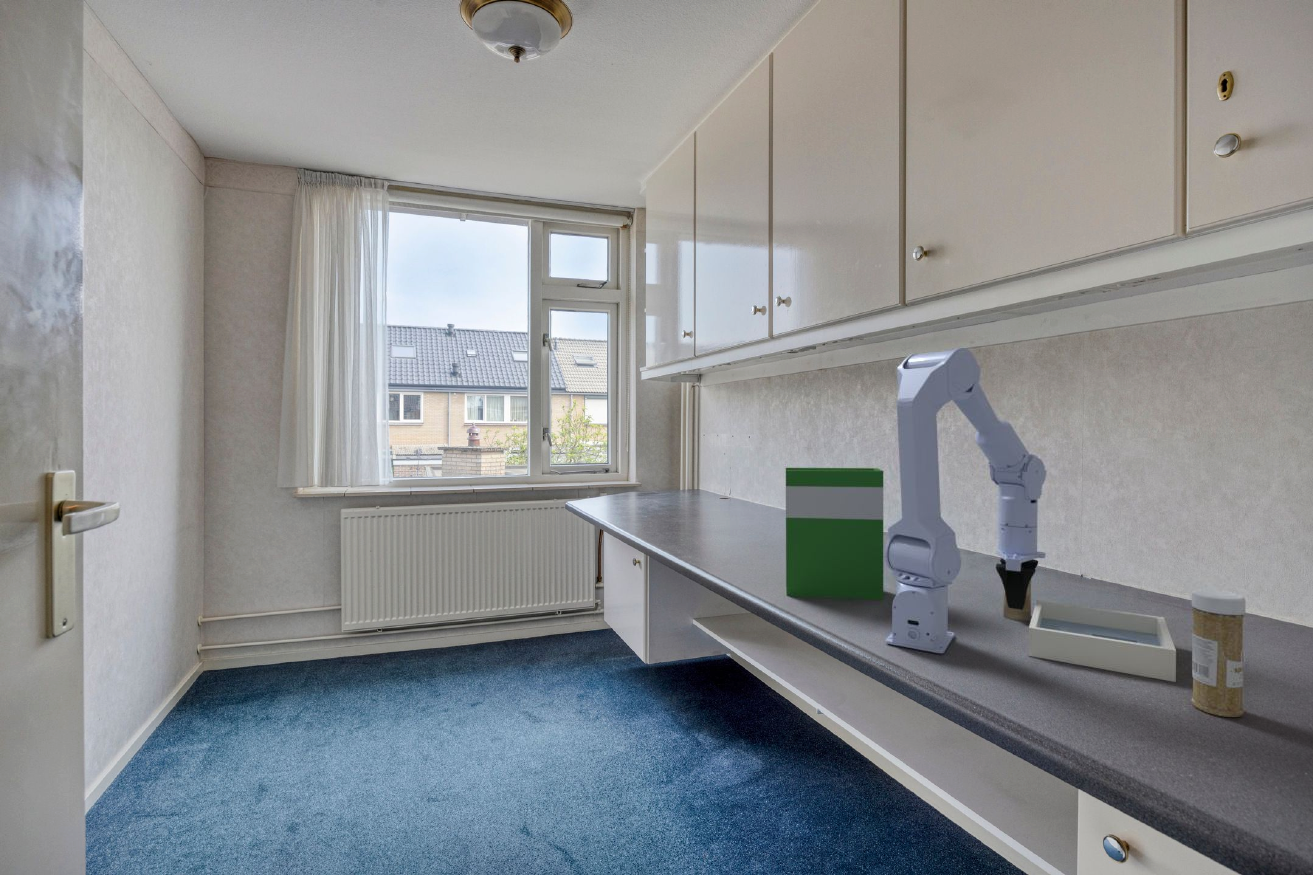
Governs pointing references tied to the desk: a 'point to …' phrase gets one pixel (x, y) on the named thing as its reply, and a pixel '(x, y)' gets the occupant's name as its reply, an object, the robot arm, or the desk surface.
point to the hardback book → (834, 532)
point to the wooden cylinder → (1017, 613)
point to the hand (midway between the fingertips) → (1017, 604)
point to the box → (1103, 639)
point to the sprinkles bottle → (1218, 652)
